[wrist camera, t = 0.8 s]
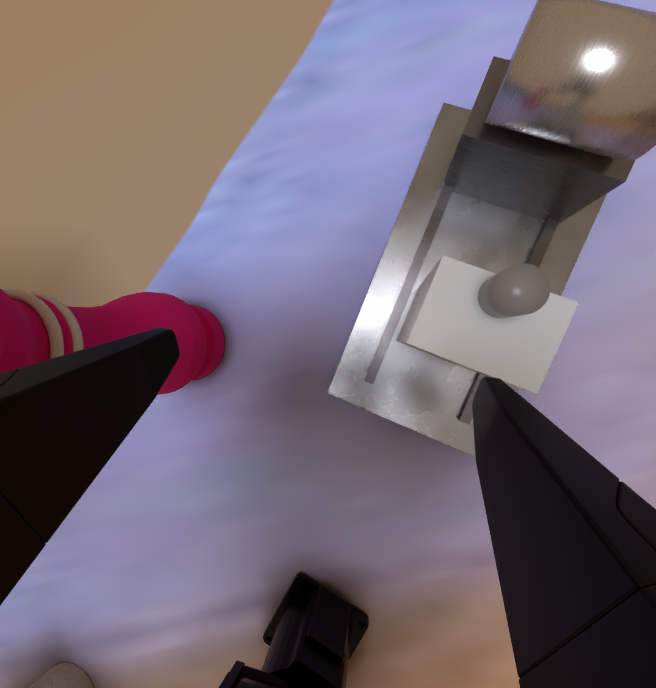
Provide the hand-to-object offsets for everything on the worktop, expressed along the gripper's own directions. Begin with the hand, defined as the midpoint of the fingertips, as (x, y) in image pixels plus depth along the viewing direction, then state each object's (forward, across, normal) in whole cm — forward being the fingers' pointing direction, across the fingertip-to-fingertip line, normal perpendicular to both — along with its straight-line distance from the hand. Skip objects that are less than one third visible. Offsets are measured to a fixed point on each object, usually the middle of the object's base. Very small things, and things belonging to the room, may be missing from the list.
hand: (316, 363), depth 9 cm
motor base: (+17, -7, +2) cm, 18 cm away
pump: (+13, -6, +5) cm, 16 cm away
